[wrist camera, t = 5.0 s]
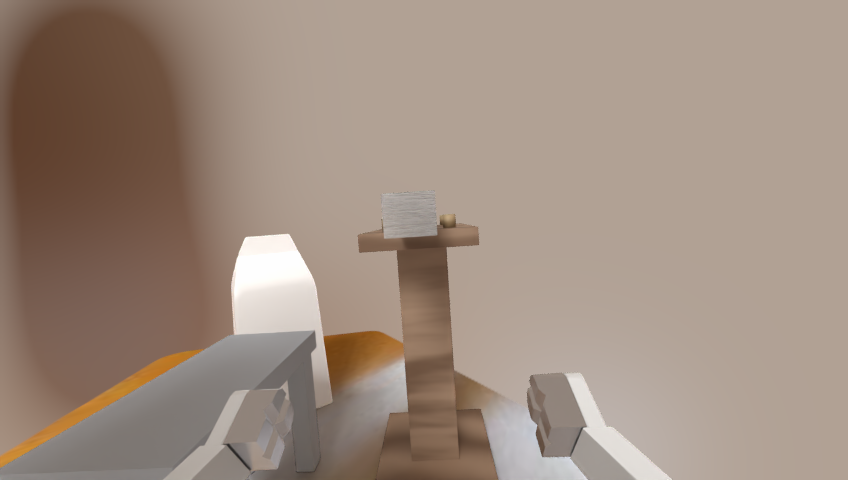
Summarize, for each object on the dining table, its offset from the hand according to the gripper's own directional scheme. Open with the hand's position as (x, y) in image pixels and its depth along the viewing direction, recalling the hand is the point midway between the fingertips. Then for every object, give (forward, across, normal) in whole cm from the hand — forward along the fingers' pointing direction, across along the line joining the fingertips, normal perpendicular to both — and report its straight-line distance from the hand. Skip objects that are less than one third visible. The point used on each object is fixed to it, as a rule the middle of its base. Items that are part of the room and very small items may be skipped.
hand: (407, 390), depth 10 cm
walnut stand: (+10, 0, +30) cm, 32 cm away
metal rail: (+18, 0, +5) cm, 19 cm away
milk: (+21, +24, +37) cm, 49 cm away
